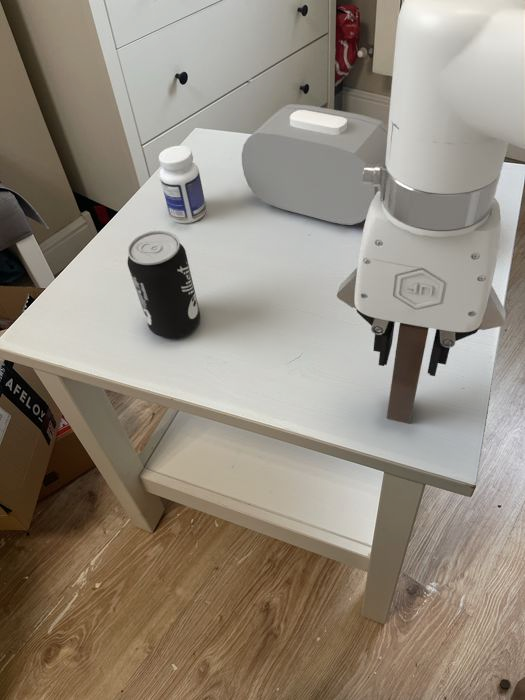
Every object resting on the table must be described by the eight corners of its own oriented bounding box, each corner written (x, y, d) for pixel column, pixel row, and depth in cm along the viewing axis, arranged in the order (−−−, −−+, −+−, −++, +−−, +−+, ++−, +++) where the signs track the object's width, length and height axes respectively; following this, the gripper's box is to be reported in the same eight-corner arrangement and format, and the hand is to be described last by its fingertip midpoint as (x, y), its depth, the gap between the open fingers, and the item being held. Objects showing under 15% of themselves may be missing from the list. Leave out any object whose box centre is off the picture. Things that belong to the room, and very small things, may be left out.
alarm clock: (397, 201, 84) (406, 113, 74) (371, 237, 79) (378, 147, 69) (276, 172, 92) (271, 89, 82) (246, 203, 87) (236, 119, 77)
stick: (413, 405, 60) (432, 310, 49) (409, 424, 58) (428, 330, 48) (390, 400, 60) (404, 306, 50) (386, 418, 59) (399, 325, 48)
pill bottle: (201, 199, 89) (190, 139, 81) (211, 218, 85) (199, 158, 78) (166, 208, 88) (151, 149, 80) (174, 228, 84) (159, 168, 77)
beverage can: (189, 346, 68) (168, 269, 59) (140, 336, 70) (113, 261, 61) (208, 308, 72) (192, 231, 63) (162, 300, 74) (139, 224, 65)
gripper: (307, 204, 39) (311, 371, 53) (569, 236, 35) (500, 410, 48) (333, 149, 44) (331, 316, 57) (568, 171, 39) (505, 347, 53)
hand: (409, 358), depth 53 cm, fingers open, 3 cm apart
